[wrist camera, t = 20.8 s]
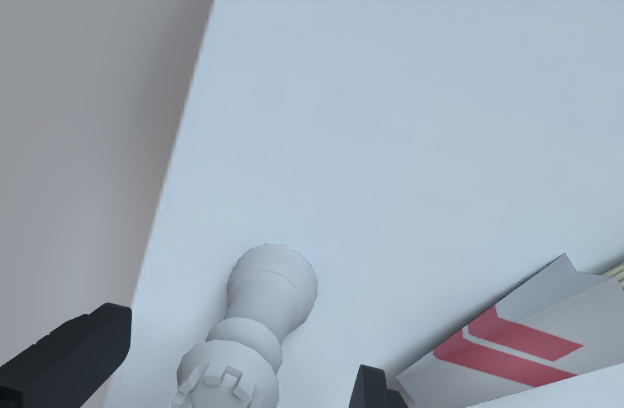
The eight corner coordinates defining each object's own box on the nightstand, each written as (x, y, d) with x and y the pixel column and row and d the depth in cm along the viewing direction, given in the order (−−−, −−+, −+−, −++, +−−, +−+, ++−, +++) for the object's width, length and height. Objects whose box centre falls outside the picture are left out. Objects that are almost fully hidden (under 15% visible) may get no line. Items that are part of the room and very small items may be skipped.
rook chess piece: (335, 295, 16) (325, 445, 8) (265, 331, 17) (199, 495, 9) (288, 224, 16) (232, 316, 8) (219, 265, 17) (107, 383, 9)
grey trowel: (394, 392, 13) (927, 115, 10) (384, 350, 16) (802, 120, 13) (441, 456, 14) (966, 211, 11) (424, 405, 17) (838, 197, 13)
